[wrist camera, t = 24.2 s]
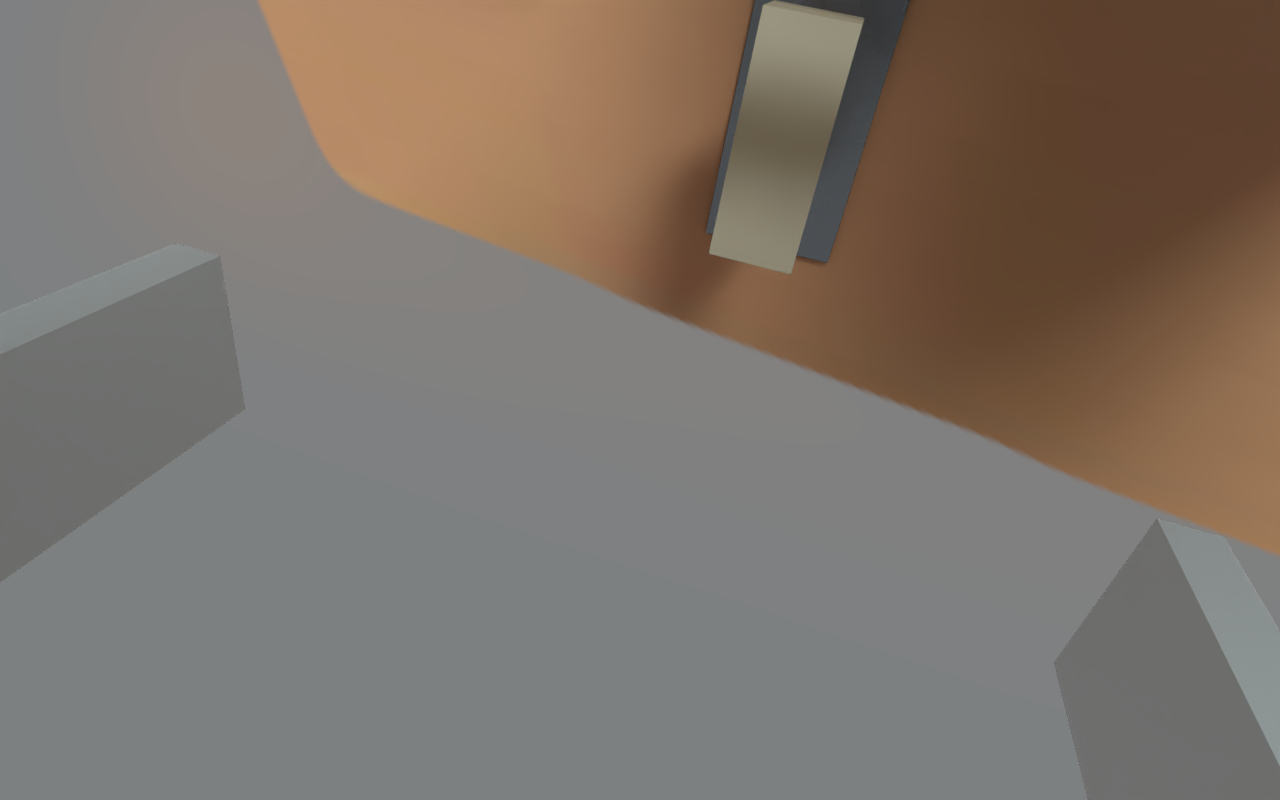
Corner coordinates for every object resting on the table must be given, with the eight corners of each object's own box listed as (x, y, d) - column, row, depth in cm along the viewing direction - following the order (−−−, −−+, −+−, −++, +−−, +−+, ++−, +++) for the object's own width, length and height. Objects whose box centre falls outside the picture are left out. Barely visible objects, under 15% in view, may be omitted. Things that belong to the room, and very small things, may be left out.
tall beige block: (828, 260, 36) (811, 350, 27) (707, 230, 36) (656, 309, 28) (946, -117, 27) (972, -149, 19) (787, -144, 28) (748, -186, 20)
